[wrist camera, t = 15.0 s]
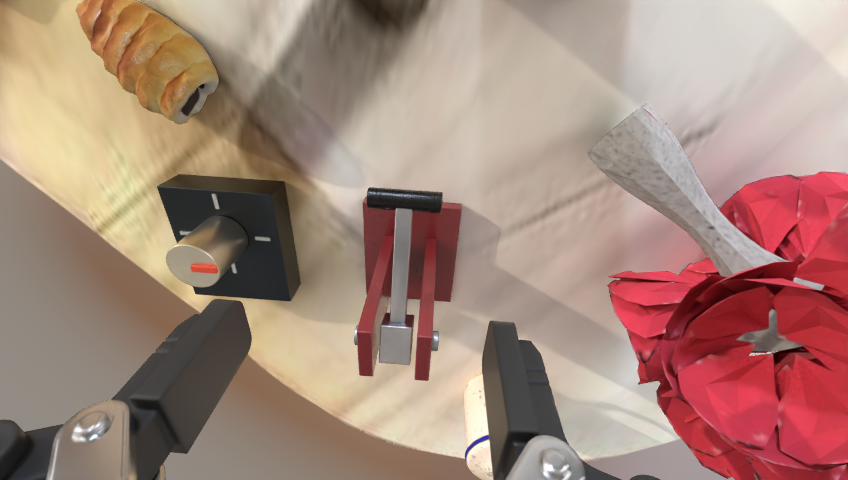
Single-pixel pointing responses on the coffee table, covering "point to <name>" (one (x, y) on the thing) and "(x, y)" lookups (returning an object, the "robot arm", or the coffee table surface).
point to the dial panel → (260, 218)
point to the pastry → (150, 56)
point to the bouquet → (741, 311)
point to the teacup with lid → (477, 430)
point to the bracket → (426, 278)
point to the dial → (207, 251)
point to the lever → (400, 267)
